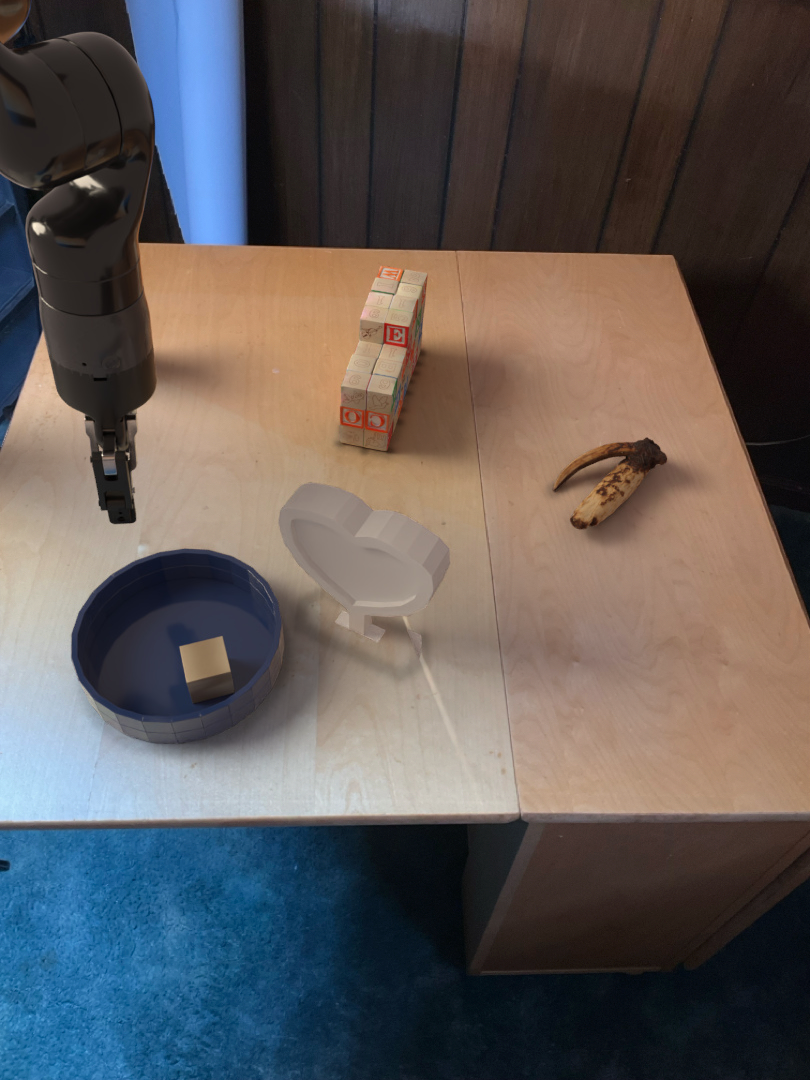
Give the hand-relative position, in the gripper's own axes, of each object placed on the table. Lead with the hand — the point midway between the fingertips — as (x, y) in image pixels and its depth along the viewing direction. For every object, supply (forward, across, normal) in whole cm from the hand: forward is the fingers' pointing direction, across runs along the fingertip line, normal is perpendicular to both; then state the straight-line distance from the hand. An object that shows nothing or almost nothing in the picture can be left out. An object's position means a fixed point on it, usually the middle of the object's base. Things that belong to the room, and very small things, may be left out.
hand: (123, 484), depth 72 cm
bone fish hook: (+11, -6, +54) cm, 55 cm away
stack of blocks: (+14, -26, +31) cm, 43 cm away
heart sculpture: (+14, +9, +22) cm, 27 cm away
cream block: (+14, +13, +6) cm, 20 cm away
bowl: (+15, +10, +4) cm, 18 cm away
